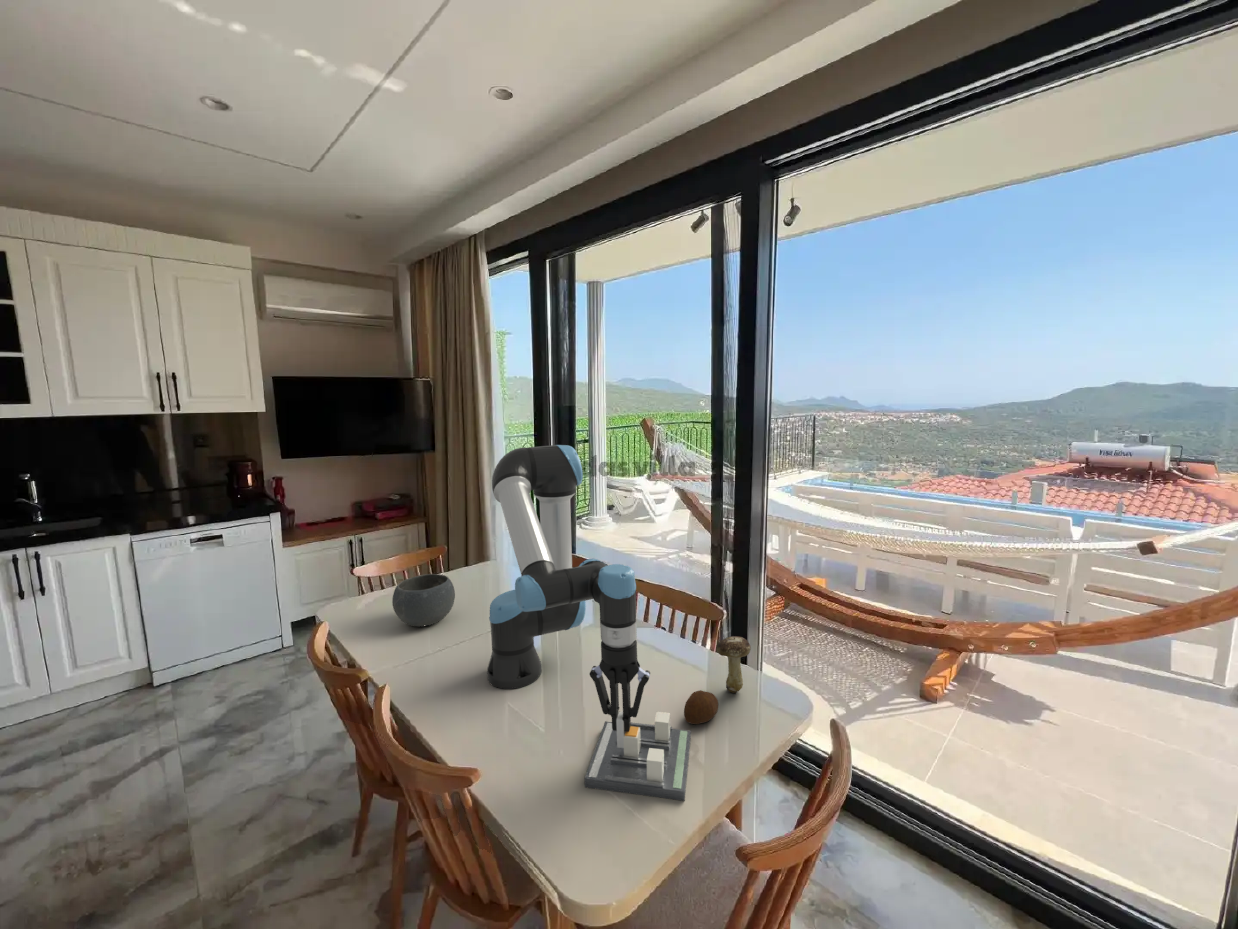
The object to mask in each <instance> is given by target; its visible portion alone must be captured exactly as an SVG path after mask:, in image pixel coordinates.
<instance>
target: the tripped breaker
mask: <svg viewBox="0 0 1238 929" xmlns="http://www.w3.org/2000/svg"><path fill="white" fill-rule="evenodd" d="M623 738H624V756H630V757H638V756H639V751H640V747H641V740H640V727H634V726H631V727H630V730H629V732H625V733H624V736H623Z"/></svg>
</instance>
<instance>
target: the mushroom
mask: <svg viewBox="0 0 1238 929" xmlns="http://www.w3.org/2000/svg"><path fill="white" fill-rule="evenodd" d="M751 649H752V648H751V644H750V642H749V641H748V640H747V639H746V638H744V637H743V636H738V635H737V636H736V635H735V636H734V635H732V636H728V637H725V638H723V639H722V640H720V641H719V642H718V643H717V645H716V651H717V653H718V654H719V655H720V656H722V657H727V659H728V662H727V665H728V666H727V670H728V674H727V678H726V680H725V689H726V690H727V691H728V692H729V693H731V694H736V693H737V692H740V690H741V689H743V685H744V680H743V674H742V667H741V662H742V661H741V658H743V657H747V656H748V655H749V654H750V653H751Z"/></svg>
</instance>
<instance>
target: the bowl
mask: <svg viewBox="0 0 1238 929" xmlns="http://www.w3.org/2000/svg"><path fill="white" fill-rule="evenodd" d="M455 598H456V592H455V587H454V584H453V582H452V580H451V579H450V578H449V577H448V576H447V575H445V574H444V575H443V574H439V573H438V574H437V573H427V574H426V573H425V574H421V575H416V576H413V577H409V578H407V579H404V580H402V581H400V582H399V583H398V584H397V585H396V586H395V589H394V590H393V594H392V607H393V608H392V609H393V611H394V614H396V616H397V617H398V619H399V620H400V621H401V622H403V623H404V624H406V625H408V626H412V625H414V626H413V627H420V626H421V627H425V626H424V625H429V626H431V625H430V624H432V625H434V624H433V623H435V624H437V623H439V622H441V621H442V620H443V619H444V618H445V617H446V616H448V615H449V613H450V612H451V611H452V609H453V606H454V603H455ZM438 621H439V622H438ZM436 622H437V623H436Z"/></svg>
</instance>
